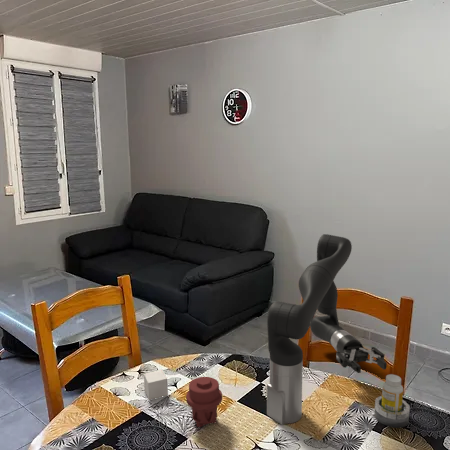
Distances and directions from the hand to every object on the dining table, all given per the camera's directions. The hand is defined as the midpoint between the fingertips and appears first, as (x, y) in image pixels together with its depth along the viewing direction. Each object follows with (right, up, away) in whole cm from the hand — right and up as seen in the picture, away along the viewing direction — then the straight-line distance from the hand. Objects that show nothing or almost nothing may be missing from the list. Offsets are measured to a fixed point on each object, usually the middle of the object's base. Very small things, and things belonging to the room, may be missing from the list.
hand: (372, 368), depth 127 cm
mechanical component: (-50, -12, -8) cm, 53 cm away
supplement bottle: (+2, -9, -9) cm, 12 cm away
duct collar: (+2, -11, -8) cm, 14 cm away
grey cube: (-66, -10, +6) cm, 67 cm away
